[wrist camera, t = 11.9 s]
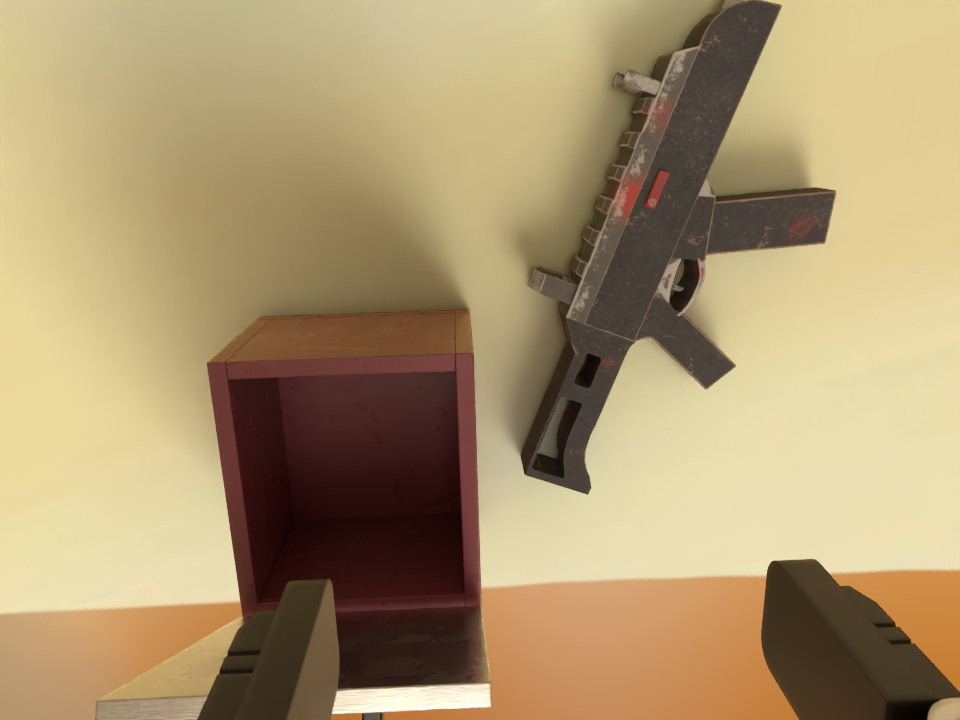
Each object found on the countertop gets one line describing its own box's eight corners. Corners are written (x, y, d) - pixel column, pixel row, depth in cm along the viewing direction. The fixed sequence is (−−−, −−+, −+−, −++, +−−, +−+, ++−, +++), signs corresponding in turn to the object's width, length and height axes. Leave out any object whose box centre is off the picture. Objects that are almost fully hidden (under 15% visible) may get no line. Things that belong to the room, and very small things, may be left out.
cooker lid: (95, 700, 23) (86, 892, 22) (490, 681, 24) (498, 870, 23) (240, 616, 38) (238, 729, 37) (481, 605, 38) (486, 717, 38)
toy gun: (672, 501, 49) (464, 435, 47) (904, 25, 41) (663, -82, 38) (688, 528, 46) (465, 458, 44) (944, 16, 37) (683, -102, 35)
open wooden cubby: (260, 316, 44) (206, 362, 35) (469, 309, 44) (473, 352, 35) (284, 525, 48) (242, 618, 39) (476, 517, 48) (481, 608, 39)
